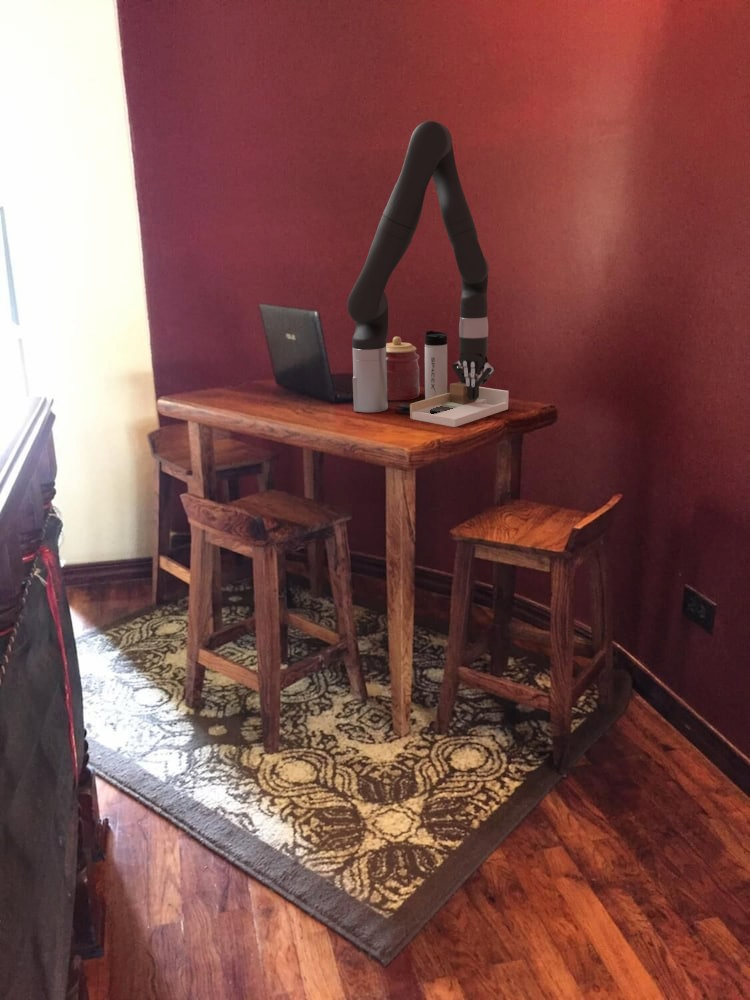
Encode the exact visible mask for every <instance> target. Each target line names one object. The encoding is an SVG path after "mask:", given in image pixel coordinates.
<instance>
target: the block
mask: <svg viewBox="0 0 750 1000" xmlns="http://www.w3.org/2000/svg"><path fill="white" fill-rule="evenodd" d="M449 393H450V402H453V403H457V404H462V405H464V404H468V403H472V402H476V400H475V401H471V400H469V399H468V397H467V386H466V384H464V383H461V381H457V382H452V383H449Z"/></svg>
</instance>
